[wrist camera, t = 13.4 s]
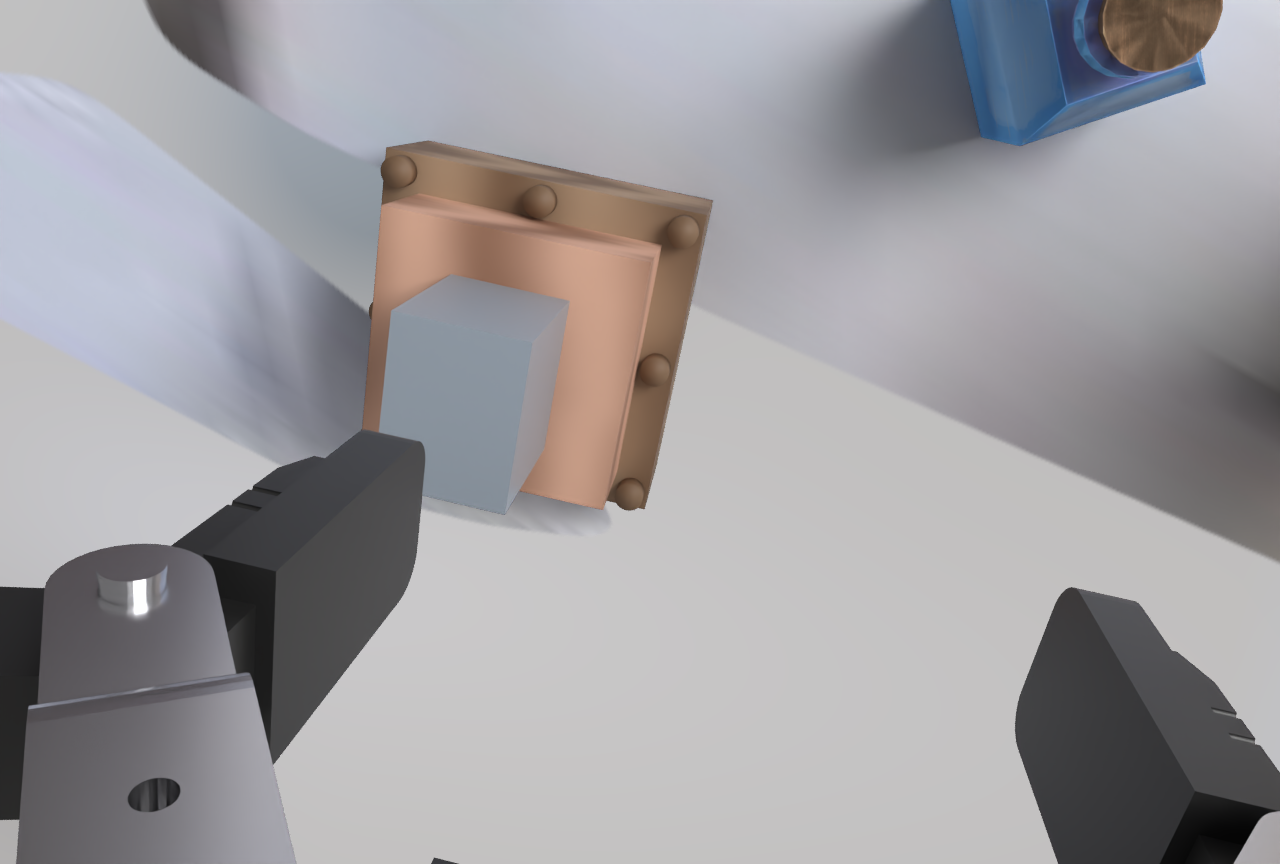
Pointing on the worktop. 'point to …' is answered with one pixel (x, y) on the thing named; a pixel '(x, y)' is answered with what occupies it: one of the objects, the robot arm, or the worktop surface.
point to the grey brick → (473, 385)
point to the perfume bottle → (1077, 59)
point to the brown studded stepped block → (554, 295)
